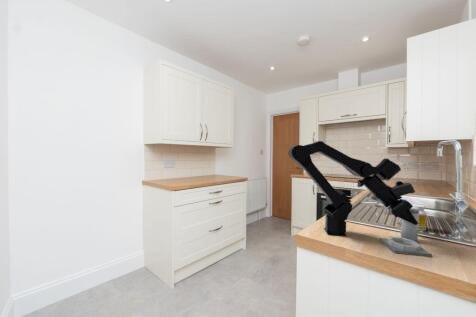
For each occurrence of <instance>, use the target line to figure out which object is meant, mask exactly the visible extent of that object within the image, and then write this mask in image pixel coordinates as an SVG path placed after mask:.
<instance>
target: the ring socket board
mask: <svg viewBox="0 0 476 317" xmlns="http://www.w3.org/2000/svg"><path fill="white" fill-rule="evenodd" d="M378 240H379V241H380V242H381V243H382V244H383V245H385V246H386V247H387V248H388V249H389V250H390V251H391V252H392V253H394V254H402V255H410V256H421V257H430V258H432V255H433V254H432V253H430V252H429V251H428V250H426V249H424V248H423V247H422V246H421V244H420V243H418V241H417V242H415V241H413V240H409V239H406V238H402V237H401V236H389V237H387V238H386V237H378Z"/></svg>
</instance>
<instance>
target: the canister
mask: <svg viewBox="0 0 476 317" xmlns="http://www.w3.org/2000/svg"><path fill="white" fill-rule="evenodd" d="M410 212H411V213H412V215H413V216H414V218H415V219H416V221H417V222H418V218H419V210H416V209H413V208H411V209H410ZM400 226H401V229H400V231H401V232H400V237H402V238H406V239H409V240H413V241H415V242H417V243H418V234H419V232H418V231H419V230H418V224H417V225H414V224H412V223H410V222H408V221H406V220H403V219H401V225H400Z"/></svg>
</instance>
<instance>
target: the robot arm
mask: <svg viewBox="0 0 476 317" xmlns="http://www.w3.org/2000/svg"><path fill="white" fill-rule="evenodd" d="M287 151H288V152H287V156H288V158H289V159H291V160H292V161H293V162H294V163H296V164H297V165H298V166H299V167H301V168H302V169H303V170H304V172H305V173H306V174H307V175H308V177H310V179H311V180H312V181H313V182H314V184H315V185H316V186H317V187H318V189H319V190H320V191H321V192H322V193H323V195H324V196H325V199H326V202H327V204H326V206H324V207H323V212H324V214H325V224H324V226H325V227H323V230H324V231H325V233H326V235H330V236H341V237H346V236H347V234H346V233H347V220H348V217H349V215H350V213H351V212H352V211H353V204H352V200H351V199H349V197H348V196H347V194H346V193H345V192H343V191H340V190H335V188H334V187H333V186H332V184H331V183H330V181H328V180H327V178H326V176H324V175H323V174H322V172H321V171H320V170H319V169H318V167H317V166H316V165H315V164H314V162H313V160H312V157H311V155H314V154H317V153H319V154H320V155H322V156H324V157H325V158H327V159H330V160H331V161H333V162H335V163H337V164H339V165H341V166H342V167H343V168H344V169H346V171H347V172H349V173H350V174H351V175H352V176H354V177H359V178H362V179H357V188H362V187H363V186H364V187H365V188H366V189H367V190H368V191H369V192H370V193H371V194H372V195H374V196H375V198H376V199H377V200H379V201H380V202H381V204H382V205H383V206H384V207H385V208H387V210H388V211H389V212H390V213H391V214H392V215H393V216H394V217H395V218H399V219H401V220H402V219H403V220H406V221H408V222H410V223H412V224H414V225H417V224H418V222H417V221H416V219H415V218H414V216H413V215H412V213H411V212H410V209H411V208H412V207H413V204H412V203H410V201H408V200H407V199H402V198H403V197H402V196H405V195H408V194H414V193H416V190H415V189H414V186H413V185H412V182H402V181H400V180H397V181H395V185H393V186H390V185H388V184H387V183H385V182H384V181H386V182H387V181H390V180H392V178H394V177H395V176H396V175H397V174H398V173H400V172H401V171H402V169H401V166H400V165H399V164H398V163H396V162H394V161H392V160H390V159H389V158H383V159H382V160H381V161H380V162H379V163H378V164H377V165H376V166H373V165H372V164H371V163H369V162H367V161H364V160H362V159H361V160H360V159H358V158H354V157H351V156H349V155H347V154H345V153H343V152H341V151H339V150H337V149H336V148H334V147H332V146H330V145H329V144H327V143H326V142H324V141H321V140H317V141H314V142H312V143H308V144H305V145H303V144H297V145H292V146H290V147H289V149H288V150H287ZM412 209H413V208H412Z"/></svg>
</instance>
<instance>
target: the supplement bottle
mask: <svg viewBox="0 0 476 317" xmlns="http://www.w3.org/2000/svg"><path fill="white" fill-rule="evenodd" d="M412 205H413V207H412V209H416V210H419V218H418V231H423V232H424V231H426V230H427V218H428V217H427V214H428V213H427V212H426V211H425V209H426V206H424V205H422V204H412Z"/></svg>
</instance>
